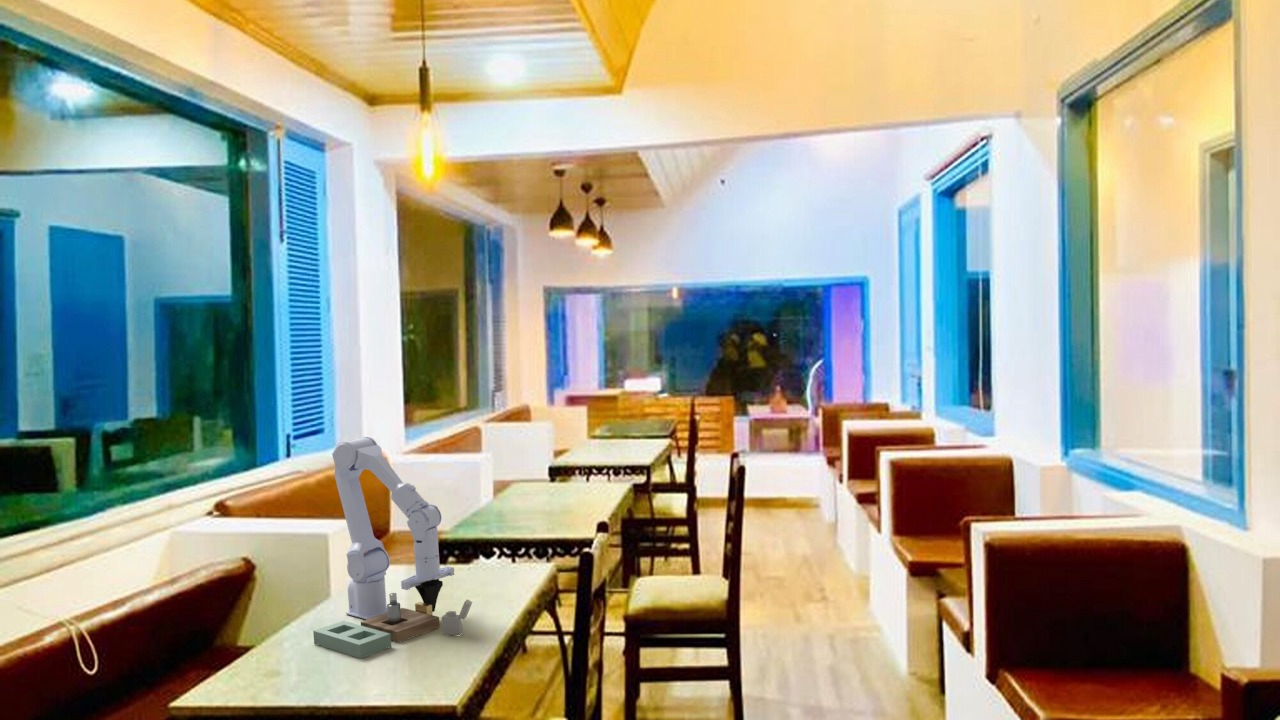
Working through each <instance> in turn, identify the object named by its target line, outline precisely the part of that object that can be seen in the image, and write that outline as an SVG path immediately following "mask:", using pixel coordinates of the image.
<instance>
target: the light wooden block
mask: <svg viewBox="0 0 1280 720" xmlns="http://www.w3.org/2000/svg"><path fill="white" fill-rule="evenodd" d="M414 607H415V609H414V611H417V612H421V613H426V614H430V615H433V612H432V605H431V604H427V603H424V602H423V601H419V602H416V603H414Z"/></svg>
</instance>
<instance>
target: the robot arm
mask: <svg viewBox="0 0 1280 720" xmlns="http://www.w3.org/2000/svg"><path fill="white" fill-rule="evenodd" d="M331 455H332V459H333V462H334V479H335V482H336V487H337V490H338V494H339V495H338V496H339V498H340V499H339V500H340V502H341V506H342V509H343V514H344V518H345V521H346V524H347V525H346V526H347V529H348V533H349V537H350V540H351V546H350V547H349V549H348V551H347V553H346V557H347V564H346V565H347V566H346V569H347V573H348V576H349V577H350V579H351V580H350V581H349V583H348V586H347V596H348V597H347V598H348V599H347V600H348V611H346V613H345V614H346V615H349V616H351V617H352V616H353V617H356V618H359V619H363V620H368V619H371V618H374V617H376V616H379V615H382V614H385V613H387V592H386V579H385V576H386V575H387V570H388V569H390V565H391V558H390V555H389V553H388V552H387V551H386V549H385V546H384V543H383V542H382V541H381V540H379V539H377V538H376V537H375V535H374V532H373V526H372V524H371V523H372V522H371V519H370V515H369V512H368V508H367V504H366V501H365V496H364V491H363V490H362V484H361V482H360V476H361V474H362V473H363V472H364V470H366V471H367V470H368V471H370V472H371V473H372V474H373V475H374V476H376V477H377V479H378V480H379V481H380V482H381V483H382V484H383V485H384V486H386V488H387V489H388V490H389V491H390V492H391V495H390V500H392V502H393V503H394V504H395V505H396V506H397V507H398V509H399V510H400V511H401V512H402V513H403V515H405V517H406V518H407V519H408V520H407V521H406V522H407V526H408V529H409V530H410V531H411V535H412V537H411V538H412V539H413V548H414V563H415V565H414V566H415V574H414V575H412V576H409V577H408V578H406V579H402V580H401V581H400V583H401V590H405V591H408V590H411V588H414V587H415V589H416V591H417V592H418V594H419V595H420V598H421V599H422V602H423V603H427V604H431V605H432V613H434V612H435V611H436V606H437V600H438V597H439V593H440V592H441V589H442V587H443V585H444V584H443V581H442V580H440V579H443V578H446V577H449V576H455V567H453V566H445V567H441V568H440V553H439V550H440V549H439V534H438V526H439V525H441V522H442V513H441V511H440V509H439V508H438V506H436V504H433V503H429V502H428V501H426V500H425V499H424V498H423V497H422V495H421V494H419V493H418V492H419V491H417V488H416V486H415V485H413V484H411V483H409V482H403V481H402V479H401V478H400V477H399V475H398V474H397V473H396V471H395V470H394V469H393V467H392V466H391V465H390V464H389V462H388V461H387V459H386V458H385V456H384V455H383V453H382V447H381V446H380V445H379V444H378V443H377V441H375V439H374V438H373V437H369V436H364V437H362V438H358V439H353V440H347V441H341V442H339V443H338V444H337V445H336V447H335V448H334V450H333V452H332V454H331Z"/></svg>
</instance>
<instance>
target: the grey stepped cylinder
mask: <svg viewBox="0 0 1280 720" xmlns="http://www.w3.org/2000/svg"><path fill="white" fill-rule="evenodd" d="M388 596H389V603H388V604H386V606H387V614H388V625H392V626H393V625H396V624H399V623H401V610H400V608H401V603H400V602H398V599H397V598H398V597H397V593H396V592H391V593H389V594H388Z"/></svg>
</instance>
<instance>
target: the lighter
mask: <svg viewBox="0 0 1280 720" xmlns="http://www.w3.org/2000/svg"><path fill="white" fill-rule="evenodd" d="M472 604H473V601H471V600H469V599H466V600H464V603H463V605H462V607H461V611H460V613H459V614H457V612H456V611H455V610H454V611H452V610H450V611H446V612H445V614H444V615H442V617H441V622H442V623H441V624H442V625H441V626H442V636H443V635H460V634H461V633H462V634H463V626H462V625H463V624H462V620H463V621H464V620H465V619H467V616H468V614H469V612H470V609H471V607H472ZM462 634H461V635H462ZM461 635H460V636H461Z"/></svg>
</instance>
